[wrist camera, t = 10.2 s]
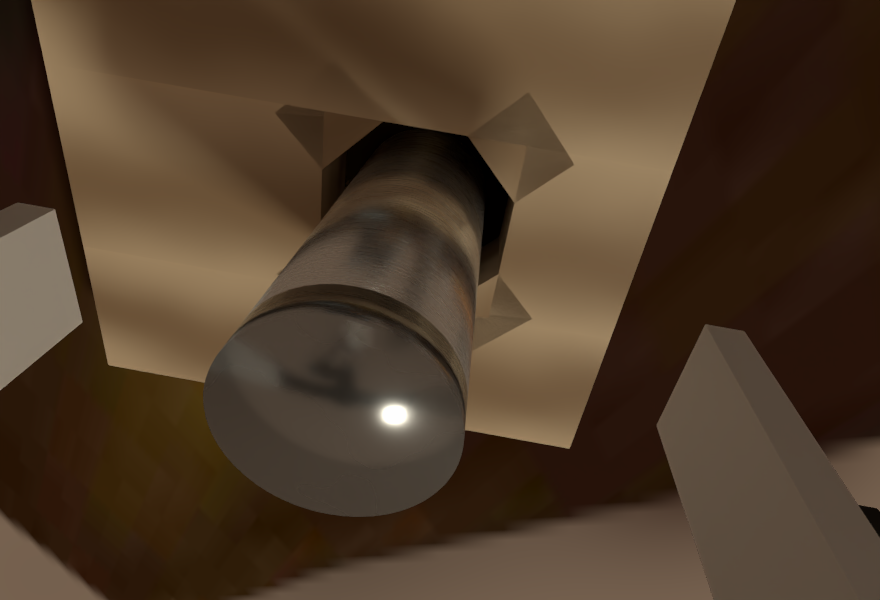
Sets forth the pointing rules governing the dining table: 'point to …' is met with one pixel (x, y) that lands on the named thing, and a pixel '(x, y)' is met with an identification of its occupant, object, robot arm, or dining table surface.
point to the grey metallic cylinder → (363, 341)
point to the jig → (342, 125)
